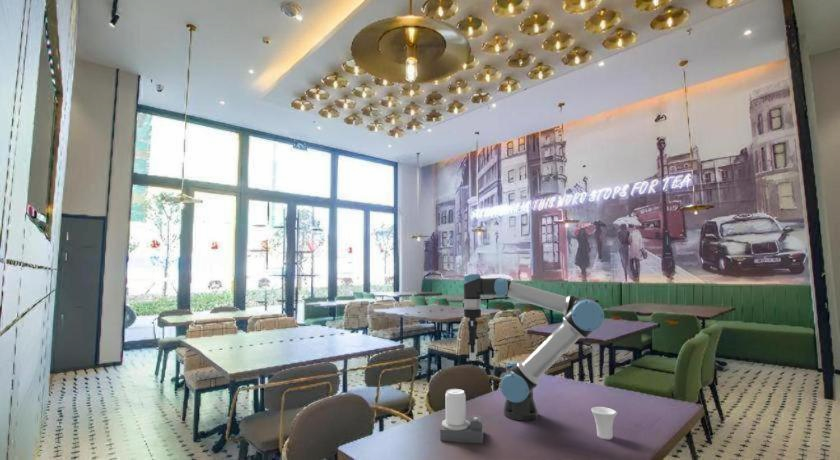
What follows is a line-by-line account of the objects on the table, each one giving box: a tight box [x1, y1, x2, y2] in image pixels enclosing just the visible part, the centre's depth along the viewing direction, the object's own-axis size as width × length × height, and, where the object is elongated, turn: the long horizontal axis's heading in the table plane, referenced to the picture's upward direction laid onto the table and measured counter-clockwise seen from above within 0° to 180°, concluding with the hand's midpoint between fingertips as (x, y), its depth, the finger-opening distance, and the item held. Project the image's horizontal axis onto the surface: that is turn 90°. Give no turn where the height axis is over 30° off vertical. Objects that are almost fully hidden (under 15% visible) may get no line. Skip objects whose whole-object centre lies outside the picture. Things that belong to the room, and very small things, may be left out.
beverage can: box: [444, 388, 467, 426], centre depth 156 cm, size 8×8×12 cm
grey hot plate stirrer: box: [439, 414, 484, 444], centre depth 155 cm, size 16×11×8 cm
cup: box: [591, 406, 618, 440], centre depth 153 cm, size 9×9×10 cm
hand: (473, 357), depth 174 cm, fingers open, 13 cm apart
